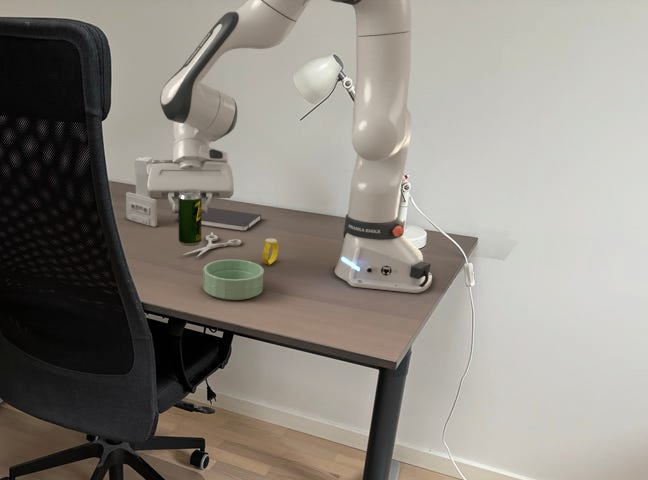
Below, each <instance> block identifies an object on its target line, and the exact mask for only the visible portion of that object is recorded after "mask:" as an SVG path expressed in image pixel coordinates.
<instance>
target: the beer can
mask: <svg viewBox="0 0 648 480" xmlns="http://www.w3.org/2000/svg"><path fill="white" fill-rule="evenodd" d="M202 200H203V198H202V196H201V192H200V191H198V190H182V191H180V192H179V196H178V198H177V204H178V214H177V223H178V242H179V244H180V245H181V246H185V247H197V246H199V245H200V244H201V243H202V225H201V217H202V204H203V203H202Z"/></svg>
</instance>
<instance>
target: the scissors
mask: <svg viewBox="0 0 648 480" xmlns="http://www.w3.org/2000/svg"><path fill="white" fill-rule="evenodd" d="M218 239H219V238H218V235H216V234H214V232H210V234H207V235H205V240H206V241H207V245H205V246H203V247H200V248H197V249H194V250H191V251H189V252H186V253H184V254H182V255H183V256H185V255H188V254H193V253H196V252H199V251H200V253H198V255H197V256H196V258H198V257H200V256H201V255H202V254H204V253H206V252H207V251H209V250H212V249H215V248H219V247H227V246H231V247H233V246H240V245H241V244H242V240H241V239H235V238H234V239H229V240H228V241H227V242H223V243H221V242H220V243H213V242H215V241H216V242H217V241H218Z"/></svg>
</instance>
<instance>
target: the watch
mask: <svg viewBox="0 0 648 480" xmlns="http://www.w3.org/2000/svg"><path fill="white" fill-rule="evenodd" d="M264 243H265V245H264V246H263V251H262V262H263V263H264V264H265V265H267V266H271V264H273V263H274V262H276V260H277V258H278V253H279V243H278V240H277V239H276V238H272V237H271V238H270V237H269V238H266V239H265V241H264ZM271 247H272V252H271V256H270V258H269V253H270V249H271Z"/></svg>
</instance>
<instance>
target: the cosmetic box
mask: <svg viewBox="0 0 648 480" xmlns="http://www.w3.org/2000/svg"><path fill="white" fill-rule="evenodd" d="M153 159H154V158H153V157H151V156H139V157H137V158H136V159H134V177H135V194H138V195H141V196H145V197H149V198H151V197H150V196H149V195H148V192H147V183H148V175H147V165H148V164H149V163H150V162H153ZM152 164H153V163H152Z"/></svg>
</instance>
